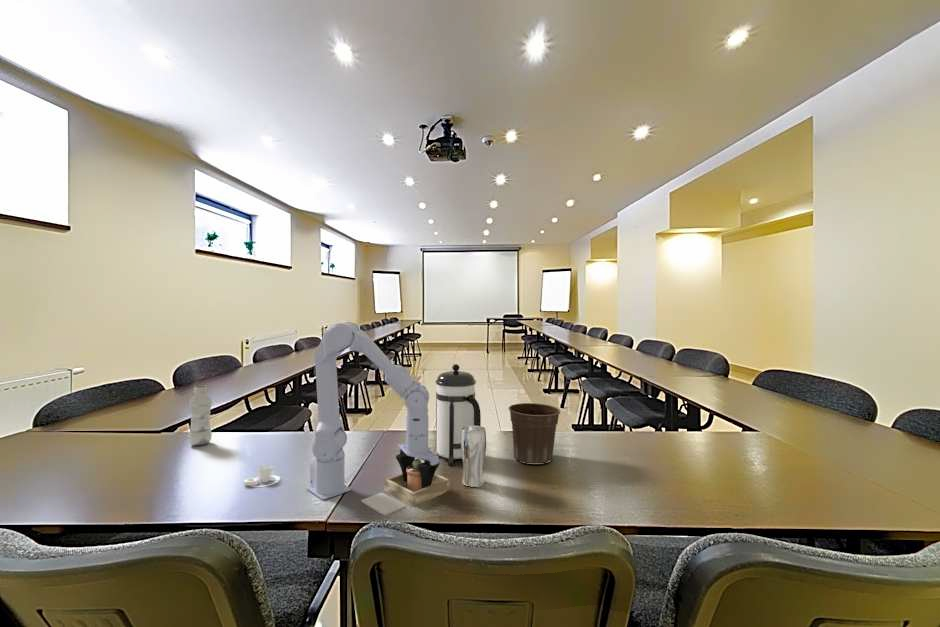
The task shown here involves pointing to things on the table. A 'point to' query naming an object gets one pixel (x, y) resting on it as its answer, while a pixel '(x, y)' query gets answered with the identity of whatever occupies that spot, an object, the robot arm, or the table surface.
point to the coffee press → (454, 411)
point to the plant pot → (533, 431)
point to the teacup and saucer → (262, 477)
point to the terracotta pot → (414, 476)
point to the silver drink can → (473, 454)
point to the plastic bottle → (200, 417)
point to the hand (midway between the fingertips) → (417, 484)
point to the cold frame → (414, 498)
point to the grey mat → (383, 504)
